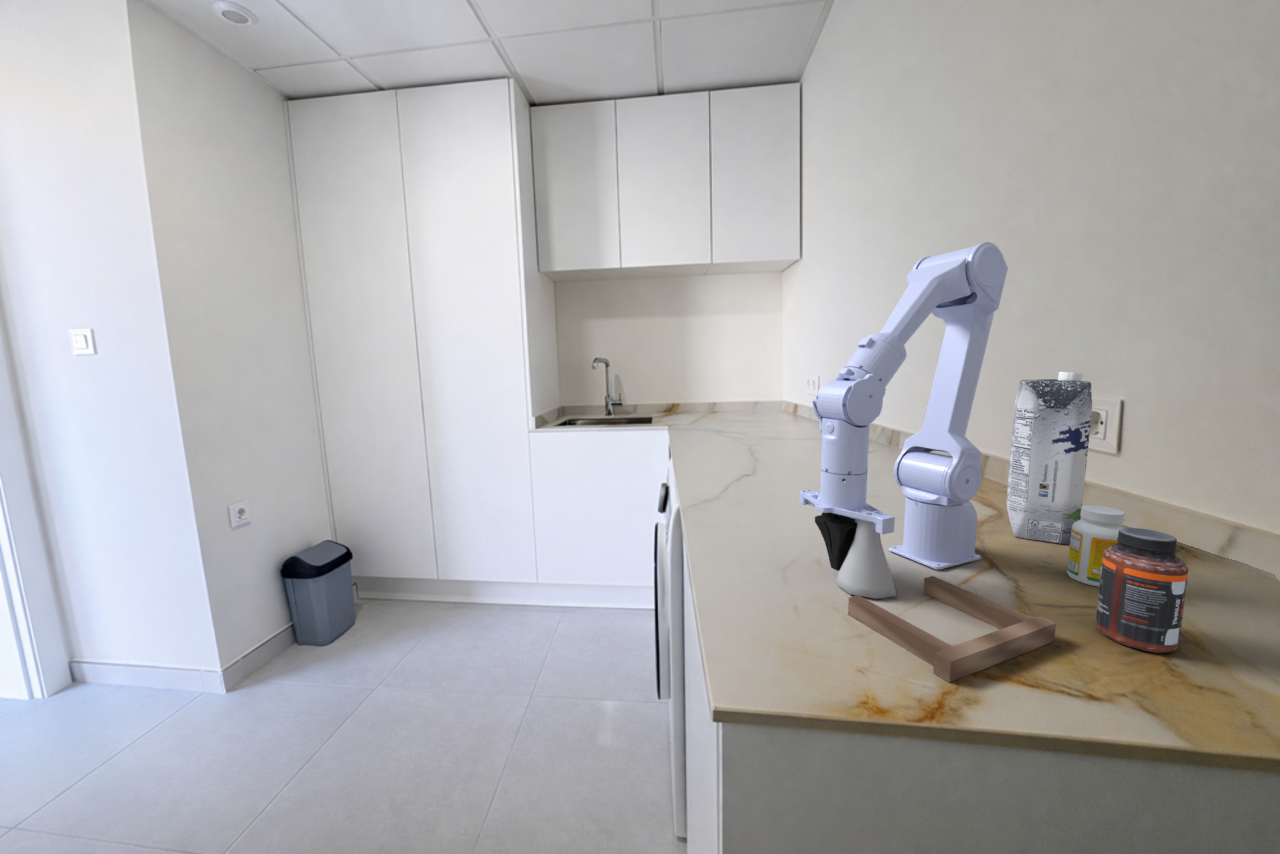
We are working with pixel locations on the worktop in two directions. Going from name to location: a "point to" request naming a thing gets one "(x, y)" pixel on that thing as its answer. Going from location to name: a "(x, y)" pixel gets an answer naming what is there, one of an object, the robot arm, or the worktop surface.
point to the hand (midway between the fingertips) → (839, 568)
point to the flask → (866, 565)
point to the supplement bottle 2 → (1142, 591)
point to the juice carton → (1049, 457)
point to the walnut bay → (968, 656)
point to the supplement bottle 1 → (1092, 542)
